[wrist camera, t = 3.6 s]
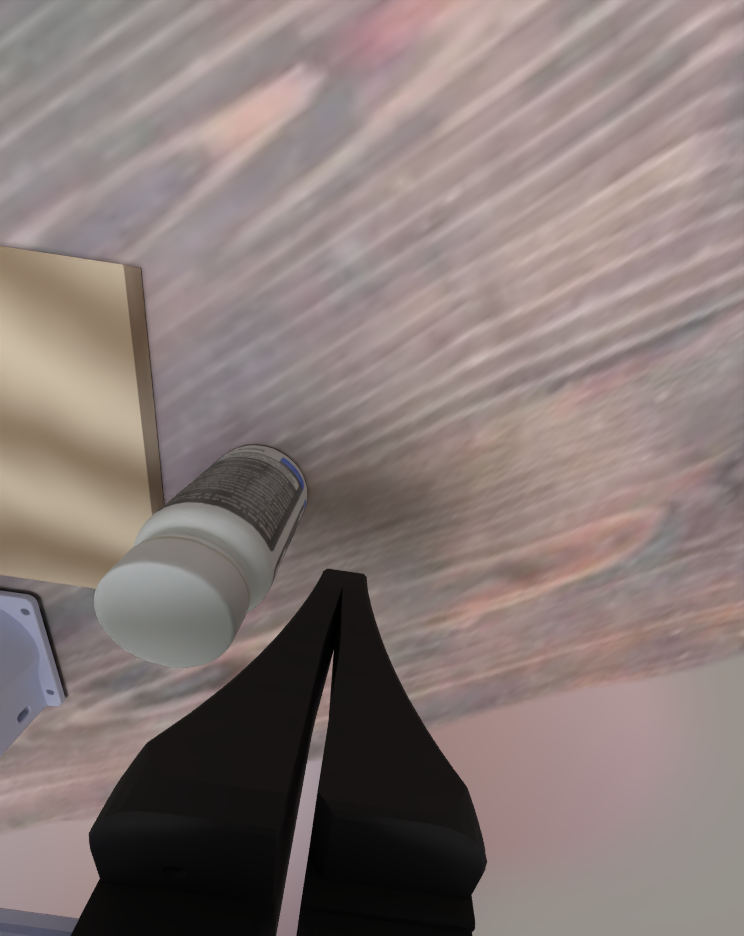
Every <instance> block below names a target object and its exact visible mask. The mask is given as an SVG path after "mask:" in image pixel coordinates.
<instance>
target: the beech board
mask: <svg viewBox="0 0 744 936" xmlns="http://www.w3.org/2000/svg"><path fill="white" fill-rule="evenodd" d="M163 506H164V500H163V490H162V480H161V470H160V459H159V449H158V439H157V429H156V419H155V409H154V399H153V388H152V378H151V368H150V358H149V348H148V338H147V327H146V317H145V307H144V297H143V287H142V277H141V268H137V267H132V266H127V265H121V264H115V263H108V262H102V261H95V260H89V259H82V258H76V257H69V256H62V255H56V254H49V253H43V252H36V251H30V250H23V249H17V248H10V247H3V246H0V575H5V576H12V577H19V578H25V579H32V580H39V581H46V582H53V583H60V584H67V585H74V586H81V587H88V588H95V589H96V588H97V585H98V584H99V582H100V580H101V579H102V578H103V577H104V576H105V574H106V573H107V572H108V571H109V570H110V569H111V568H112V567H113V566H114V565H115V564H116V563H117V562H118V561H119V560H120V559H121V558H122V557H123V556H124V555H125V554H126V553H127V552H128V551H129V550H130V549H132V548H133V547H134V544H135V540H136V537H137V535H138V533H139V531H140V529H141V528H142V527H143V525H144V524H145V523H146V521H147V520H148V519H149V518H150V517H151V516H152V515H153V514H154V513H155V512H157V511H158V510H159V509H161V508H162V507H163Z"/></svg>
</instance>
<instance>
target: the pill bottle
mask: <svg viewBox="0 0 744 936" xmlns="http://www.w3.org/2000/svg"><path fill="white" fill-rule="evenodd" d="M306 502H307V487H306V483H305V480H304V477H303V475H302V473H301V471H300V469H299V468H298V466H297V465H296V464H295V463H294V462H293V461H292V460H291V459H290V458H288V457H287V456H286V455H284V454H283V453H281V452H279V451H277V450H275V449H272V448H270V447H265V446H257V445H251V446H243V447H239V448H236V449H234V450H232V451H230V452H228V453H227V454H225V455H224V456H222V457H221V458H220V459H219V460H217V461H216V462H215V463H214V464H213V465H212V466H211V467H210V468H208V469H207V470H206V471H205V472H204V473H202V474H201V475H200V476H199V477H198V478H197V479H196V480H194V481H193V482H192V483H191V484H189V485H188V486H187V487H186V488H185V489H183V490H182V491H181V492H180V493H178V494H177V495H176V496H175V497H174V498H173V499H172V500H171V501H169V502H168V503H167V504H166V505H165V506H163V507H162V508H161V509H159V510H158V511H157V512H155V513H154V514H153V515H152V516H151V517H150V518H149V519H148V520H147V521H146V523H145V524H144V525H143V527H142V528H141V529H140V531H139V533H138V535H137V537H136V540H135V544H134V547H133V548H132V549H130V550H129V551H128V552H127V553H126V554H125V555H124V556H123V557H122V558H121V559H120V560H119V561H118V562H117V563H116V564H115V565H114V566H113V567H112V568H111V569H110V570H109V571H108V572H107V573H106V574H105V576H104V577H103V578H102V579H101V580H100V582H99V584H98V585H97V588H96V590H95V595H94V608H95V613H96V616H97V619H98V621H99V623H100V624H101V626H102V627H103V629H104V630H105V632H106V633H107V634H108V635H109V636H110V637H111V638H112V639H113V640H114V641H115V642H116V643H117V644H118V645H119V646H121V647H122V648H123V649H125V650H126V651H127V652H129V653H131V654H133V655H134V656H136V657H138V658H140V659H143V660H145V661H148V662H152V663H155V664H158V665H163V666H168V667H175V668H188V667H196V666H200V665H203V664H206V663H209V662H211V661H213V660H215V659H217V658H218V657H220V656H221V655H222V654H223V653H224V652H225V651H226V650H227V649H228V648H229V646H230V645H231V643H232V641H233V640H234V638H235V636H236V633H237V631H238V629H239V628H240V626H241V624H242V622H243V620H244V618H245V615H246V614H247V613H248V612H250V611H251V610H253V609H254V608H255V607H256V606H257V605H258V604H259V603H260V602H261V601H262V600H263V599H264V597H265V596H266V594H267V593H268V591H269V589H270V587H271V585H272V583H273V580H274V578H275V576H276V573H277V571H278V568H279V566H280V564H281V562H282V559H283V557H284V555H285V552H286V550H287V548H288V546H289V544H290V542H291V540H292V537H293V535H294V533H295V530H296V527H297V525H298V523H299V521H300V519H301V517H302V514H303V512H304V509H305V506H306Z"/></svg>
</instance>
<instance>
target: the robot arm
mask: <svg viewBox="0 0 744 936" xmlns="http://www.w3.org/2000/svg"><path fill="white" fill-rule="evenodd" d="M333 650H334V655H333V669H332V682H331V695H330V709H329V722H328V729H327V735H326V741H325V748H324V754H323V761H322V767H321V773H320V780H319V787H318V793H317V800H316V806H315V814H314V820H313V827H312V834H311V842H310V848H309V855H308V861H307V868H306V874H305V881H304V887H303V894H302V900H301V907H300V915H299V922H298V929H297V936H472V931H474V929H475V918H474V911H473V903H472V896H471V895H472V893H473V891H474V889H475V888H476V885H477V884H478V882H479V880H480V879H481V877H482V875H483V873H484V871H485V867H486V863H487V860H486V854H485V847H484V842H483V838H482V834H481V830H480V826H479V822H478V819H477V816H476V812H475V809H474V806H473V803H472V800H471V797H470V794H469V791H468V788H467V786H466V785H465V784H464V782H463V781H462V780H461V778H460V777H459V776H458V774H457V773H456V772H455V770H454V769H453V767H452V766H451V765H450V763H449V762H448V760H447V759H446V758H445V756H444V755H443V753H442V752H441V750H440V749H439V747H438V746H437V744H436V743H435V741H434V740H433V738H432V737H431V735H430V734H429V732H428V731H427V729H426V727H425V726H424V724H423V722H422V720H421V719H420V717H419V715H418V714H417V712H416V710H415V708H414V707H413V705H412V703H411V702H410V700H409V698H408V696H407V694H406V693H405V691H404V689H403V687H402V685H401V683H400V681H399V679H398V677H397V675H396V672H395V670H394V668H393V666H392V664H391V661H390V659H389V657H388V654H387V652H386V649H385V647H384V644H383V641H382V639H381V636H380V633H379V630H378V627H377V624H376V621H375V618H374V614H373V611H372V607H371V603H370V599H369V594H368V588H367V577H366V576H365V575H364V574H361V573H354V572H347V571H340V570H333V569H326V570H324V571H323V573H322V576H321V577H320V579H319V581H318V583H317V585H316V586H315V588H314V589H313V591H312V592H311V594H310V595H309V597H308V598H307V600H306V601H305V602H304V604H303V605H302V606H301V608H300V609H299V610H298V612H297V613H296V614H295V616H294V617H293V618H292V619H291V620H290V622H289V623H288V624H287V625H286V626H285V628H284V629H283V630H282V631H281V632H280V633H279V635H278V636H277V637H276V638H275V639H274V640H273V641H272V642H271V643H270V644H269V645H268V646H267V647H266V648H265V649H264V650H263V651H262V652H261V653H260V655H259V656H258V657H256V658H255V659H254V660H253V661H252V662H251V663H250V664H249V665H248V666H247V667H246V668H245V669H244V670H242V671H241V672H240V673H239V674H238V675H237V676H236V677H235V678H234V679H232V680H231V681H230V682H229V683H228V684H227V685H225V686H224V687H223V688H222V689H220V690H219V691H218V692H216V693H215V694H214V695H213V696H211V697H210V698H209V699H208V700H206V701H205V702H204V703H203V704H201V705H200V706H199V707H198V708H196V709H195V710H193V711H192V712H191V713H189V714H188V715H187V716H185V717H184V718H182V719H181V720H179V721H178V722H176V723H175V724H174V725H172V726H171V727H169V728H168V729H166V730H165V731H163V732H162V733H160V734H159V735H158V736H156V737H155V738H153V739H152V740H150V741H149V742H147V744H146V745H145V746H144V747H143V749H142V750H141V751H140V753H139V754H138V755H137V757H136V758H135V759H134V760H133V762H132V763H131V765H130V766H129V768H128V769H127V770H126V772H125V773H124V775H123V776H122V777H121V779H120V780H119V782H118V783H117V785H116V786H115V788H114V790H113V791H112V793H111V795H110V797H109V798H108V800H107V802H106V804H105V805H104V807H103V809H102V811H101V812H100V814H99V816H98V818H97V819H96V821H95V823H94V825H93V827H92V828H91V831H90V832H89V843H90V849H91V852H92V856H93V859H94V861H95V865H96V867H97V871H98V874H99V877H100V879H99V881H98V883H97V885H96V887H95V889H94V891H93V893H92V895H91V897H90V899H89V901H88V903H87V904H86V906H85V909H84V910H83V912H82V914H81V916H80V918H79V919H78V918H71V917H63V916H56V915H49V914H42V913H34V912H27V911H19V910H12V909H5V908H0V936H276V933H277V927H278V922H279V916H280V910H281V904H282V899H283V893H284V888H285V882H286V876H287V870H288V864H289V859H290V853H291V848H292V842H293V836H294V831H295V825H296V819H297V814H298V808H299V803H300V797H301V792H302V786H303V781H304V775H305V769H306V764H307V759H308V753H309V748H310V742H311V737H312V732H313V728H314V723H315V719H316V715H317V711H318V707H319V704H320V700H321V696H322V692H323V689H324V685H325V681H326V677H327V673H328V670H329V666H330V662H331V658H332V654H333ZM64 701H65V695H64V692H63V689H62V685H61V682H60V678H59V675H58V671H57V668H56V664H55V661H54V657H53V654H52V651H51V647H50V644H49V640H48V637H47V633H46V630H45V626H44V623H43V620H42V616H41V613H40V609H39V606H38V602H37V600H36V599H35V598H34V597H33V596H31V595H28V594H21V593H14V592H7V591H0V757H1V756H2V755H3V753H4V752H5V751H6V750H7V749H8V748H9V747H10V746H11V744H12V743H13V742H14V741H15V740H16V739H17V738H18V737H19V735H20V734H21V733H22V732H23V731H24V730H25V729H26V728H27V726H28V725H29V724H30V723H31V722H32V721H33V720H34V719H35V717H36V716H37V715H38V714H39V713H40V712H41V711H42V710H43V708H44V707H45V706H46V705H47V706H54V707H58V706H60V705H61V704H62V703H63V702H64Z"/></svg>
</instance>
